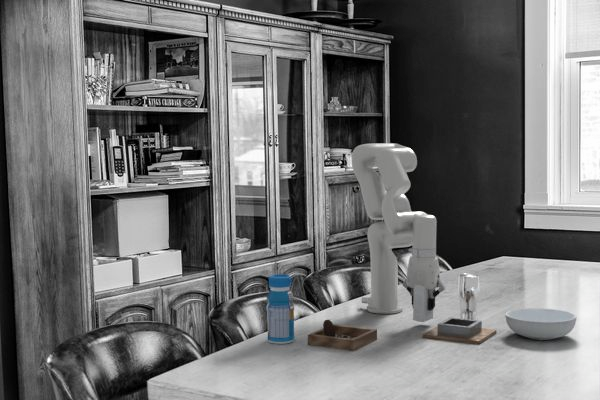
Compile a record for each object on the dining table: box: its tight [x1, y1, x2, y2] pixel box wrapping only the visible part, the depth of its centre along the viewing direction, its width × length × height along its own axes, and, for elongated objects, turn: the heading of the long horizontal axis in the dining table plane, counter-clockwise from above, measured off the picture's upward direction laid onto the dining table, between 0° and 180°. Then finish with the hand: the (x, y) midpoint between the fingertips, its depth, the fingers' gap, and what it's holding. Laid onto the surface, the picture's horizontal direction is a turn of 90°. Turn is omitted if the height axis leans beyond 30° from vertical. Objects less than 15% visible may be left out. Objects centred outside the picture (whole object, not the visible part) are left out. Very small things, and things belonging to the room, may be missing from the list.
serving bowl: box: [504, 307, 577, 341], centre depth 251 cm, size 21×21×7 cm
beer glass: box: [457, 273, 480, 320], centre depth 274 cm, size 7×7×15 cm
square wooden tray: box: [307, 323, 378, 352], centre depth 248 cm, size 15×15×3 cm
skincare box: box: [412, 285, 434, 323], centre depth 266 cm, size 6×4×12 cm
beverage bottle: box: [266, 273, 295, 345], centre depth 249 cm, size 8×8×20 cm
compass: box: [322, 319, 352, 339], centre depth 249 cm, size 8×8×7 cm
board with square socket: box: [422, 316, 497, 345], centre depth 254 cm, size 18×16×4 cm
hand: (423, 308), depth 267 cm, fingers closed on skincare box, 4 cm apart
